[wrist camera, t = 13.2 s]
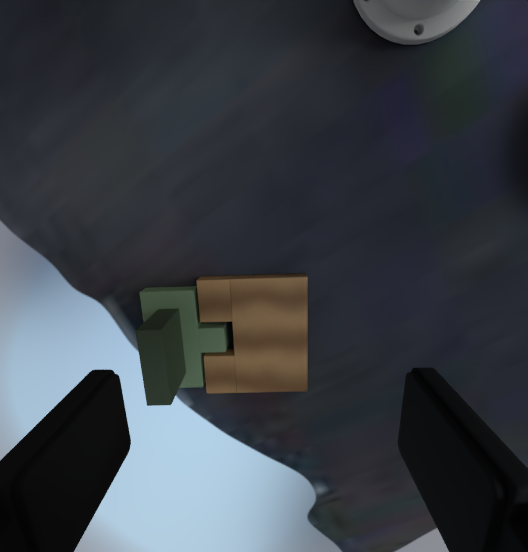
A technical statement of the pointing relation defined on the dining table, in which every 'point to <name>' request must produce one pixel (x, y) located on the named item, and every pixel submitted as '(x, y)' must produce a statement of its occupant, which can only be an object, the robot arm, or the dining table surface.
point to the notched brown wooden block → (257, 332)
